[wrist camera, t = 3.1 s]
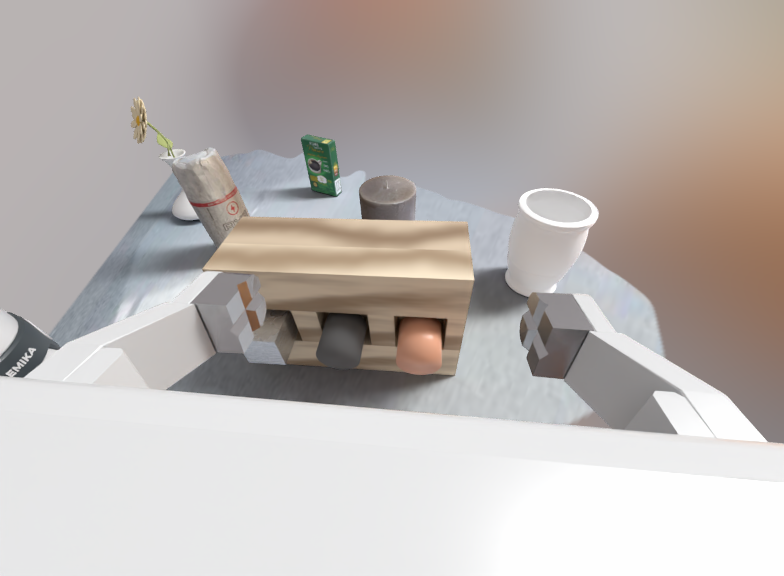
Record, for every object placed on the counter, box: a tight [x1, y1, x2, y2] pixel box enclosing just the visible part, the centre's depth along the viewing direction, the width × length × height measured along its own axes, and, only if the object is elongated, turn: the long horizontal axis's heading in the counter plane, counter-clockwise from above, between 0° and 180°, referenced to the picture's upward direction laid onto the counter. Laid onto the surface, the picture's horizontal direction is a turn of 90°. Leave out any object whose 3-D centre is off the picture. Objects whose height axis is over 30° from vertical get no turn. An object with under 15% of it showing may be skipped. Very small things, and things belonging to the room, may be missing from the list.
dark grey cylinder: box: [316, 313, 367, 370], centre depth 37 cm, size 5×5×5 cm
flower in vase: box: [131, 97, 199, 220], centre depth 67 cm, size 13×11×25 cm
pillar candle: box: [359, 175, 416, 221], centre depth 58 cm, size 10×10×15 cm
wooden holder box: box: [202, 217, 474, 375], centre depth 42 cm, size 10×28×18 cm, turn 84°
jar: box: [505, 188, 599, 297], centre depth 50 cm, size 11×10×15 cm
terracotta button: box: [396, 317, 442, 375], centre depth 37 cm, size 5×5×5 cm
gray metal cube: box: [244, 309, 298, 365], centre depth 38 cm, size 5×5×5 cm
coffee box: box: [301, 135, 342, 197], centre depth 77 cm, size 8×3×13 cm, turn 62°
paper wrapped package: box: [172, 148, 250, 249], centre depth 58 cm, size 8×8×20 cm
